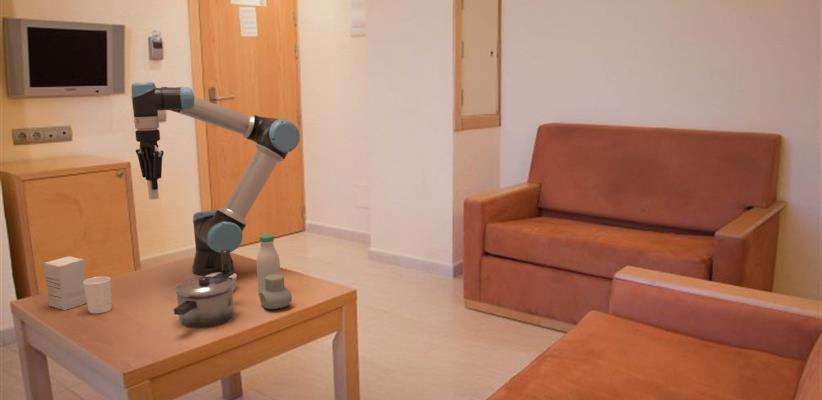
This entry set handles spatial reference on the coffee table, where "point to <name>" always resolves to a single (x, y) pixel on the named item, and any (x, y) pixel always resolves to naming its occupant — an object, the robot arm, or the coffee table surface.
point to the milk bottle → (266, 261)
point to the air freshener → (275, 293)
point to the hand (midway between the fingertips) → (153, 198)
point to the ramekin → (229, 277)
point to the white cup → (98, 294)
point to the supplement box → (65, 282)
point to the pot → (205, 310)
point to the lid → (209, 281)
